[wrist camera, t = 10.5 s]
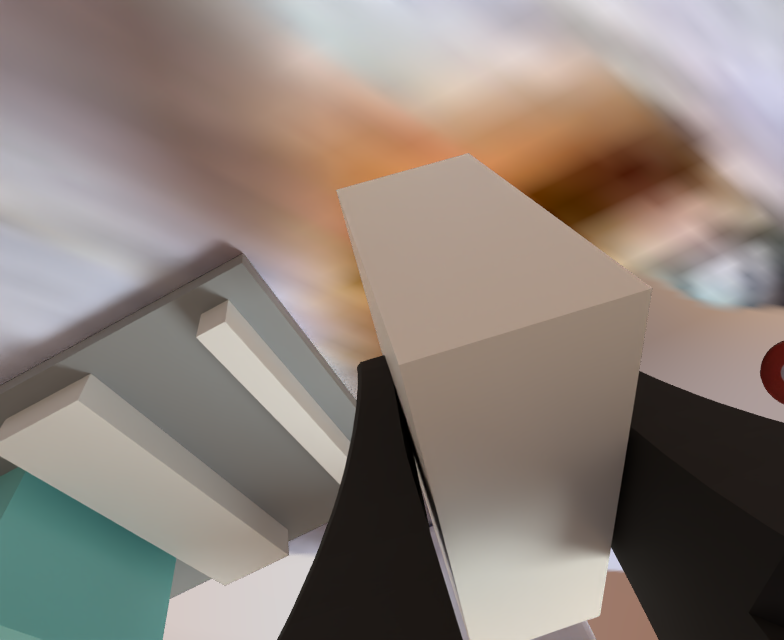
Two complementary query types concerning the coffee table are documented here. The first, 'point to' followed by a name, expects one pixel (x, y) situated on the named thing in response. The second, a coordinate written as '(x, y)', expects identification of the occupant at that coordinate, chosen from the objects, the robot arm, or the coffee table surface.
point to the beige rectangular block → (504, 384)
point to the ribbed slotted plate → (191, 426)
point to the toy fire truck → (774, 372)
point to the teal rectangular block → (75, 570)
